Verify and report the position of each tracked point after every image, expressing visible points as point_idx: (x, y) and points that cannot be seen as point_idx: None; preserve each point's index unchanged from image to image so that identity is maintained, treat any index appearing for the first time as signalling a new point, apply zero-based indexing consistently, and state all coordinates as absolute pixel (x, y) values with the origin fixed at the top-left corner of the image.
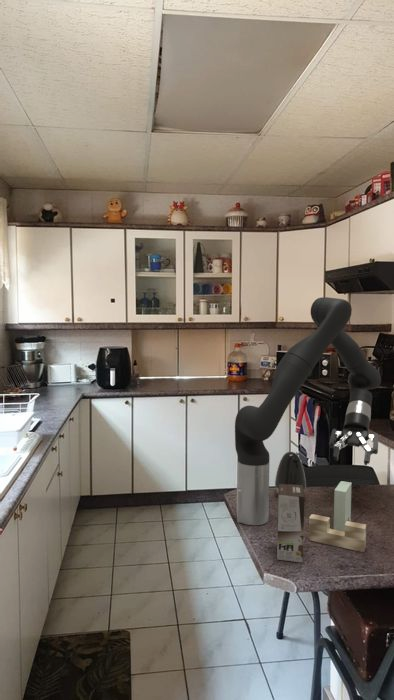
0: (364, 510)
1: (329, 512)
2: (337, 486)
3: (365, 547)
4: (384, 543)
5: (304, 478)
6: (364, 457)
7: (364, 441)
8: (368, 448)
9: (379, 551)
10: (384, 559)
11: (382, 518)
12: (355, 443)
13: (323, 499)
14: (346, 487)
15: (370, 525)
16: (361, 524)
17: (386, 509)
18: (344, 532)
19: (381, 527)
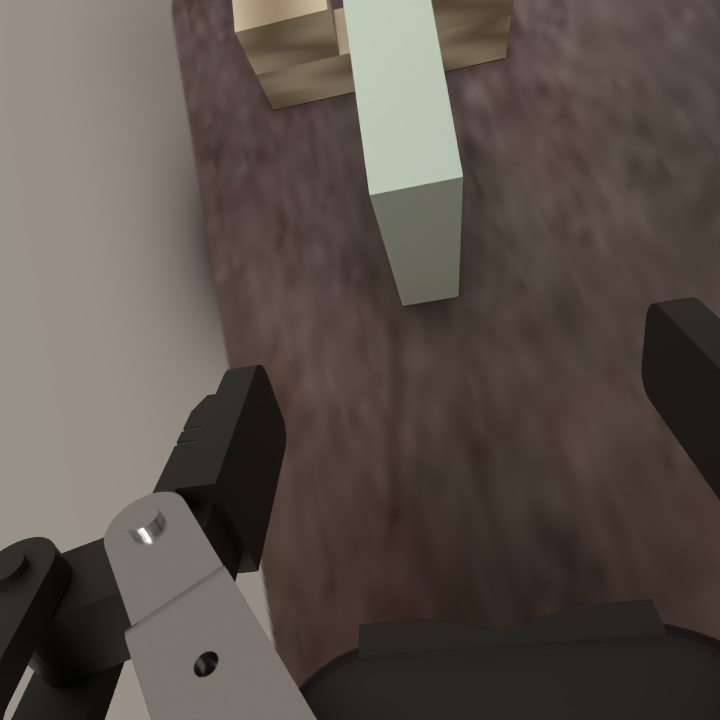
0: (395, 553)
1: (558, 385)
2: (434, 34)
3: (272, 106)
4: (216, 197)
5: None
6: (244, 394)
7: (170, 648)
8: (139, 526)
9: (220, 116)
10: (194, 70)
11: (278, 487)
12: (440, 634)
13: (701, 597)
14: (366, 58)
15: (310, 348)
16: (255, 19)
17: (287, 658)
18: (346, 44)
19: (259, 359)
